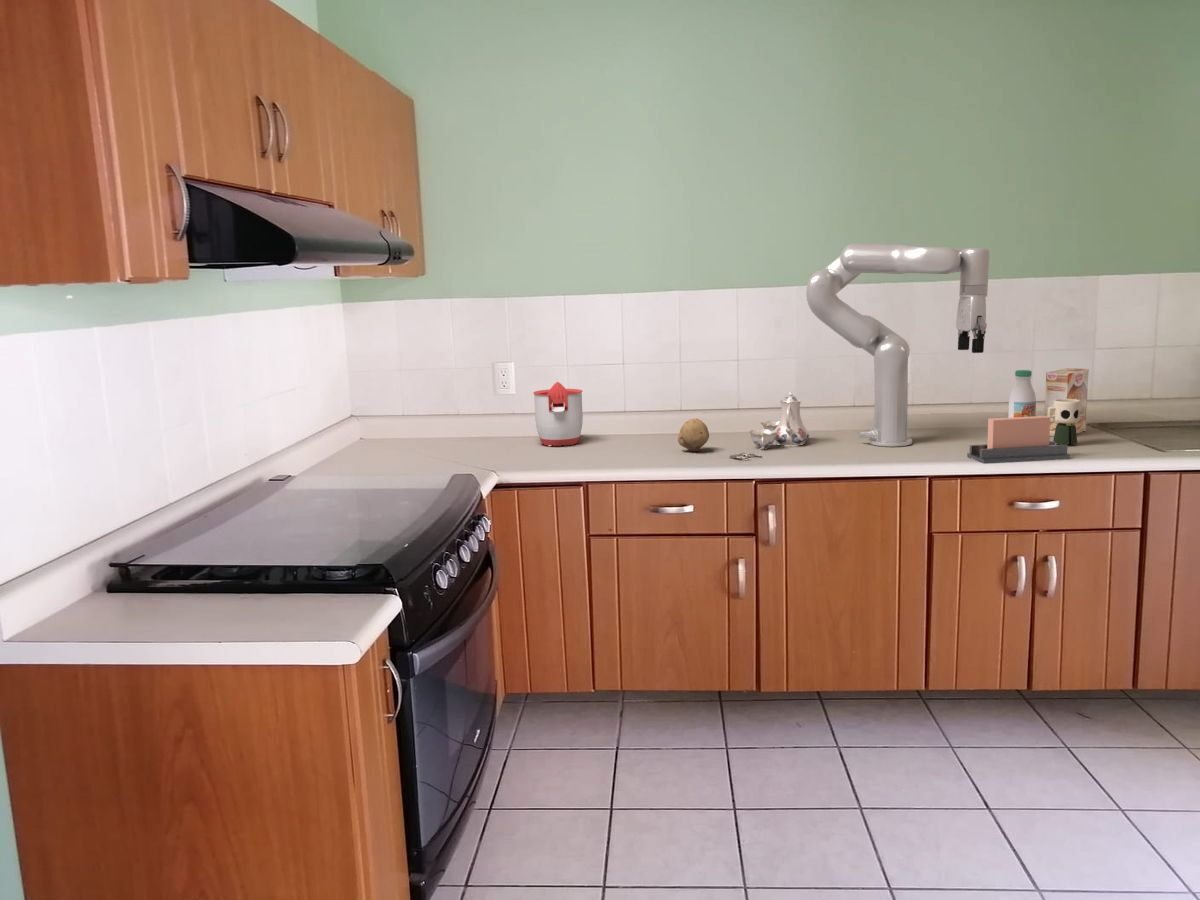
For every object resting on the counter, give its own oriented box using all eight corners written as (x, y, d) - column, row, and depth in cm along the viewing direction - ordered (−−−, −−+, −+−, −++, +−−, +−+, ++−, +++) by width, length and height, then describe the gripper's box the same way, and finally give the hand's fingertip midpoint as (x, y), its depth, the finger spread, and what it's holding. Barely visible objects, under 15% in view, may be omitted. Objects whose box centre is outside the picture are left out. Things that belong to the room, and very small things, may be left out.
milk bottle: (1003, 436, 314) (1005, 371, 311) (1013, 432, 320) (1016, 368, 316) (1028, 438, 309) (1031, 372, 306) (1038, 435, 314) (1041, 369, 311)
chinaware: (761, 441, 331) (755, 390, 328) (813, 436, 326) (807, 384, 323) (749, 457, 304) (742, 401, 302) (806, 452, 299) (800, 396, 297)
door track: (983, 463, 275) (984, 450, 274) (967, 456, 284) (967, 444, 284) (1069, 458, 277) (1070, 446, 276) (1050, 452, 286) (1050, 440, 286)
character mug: (1051, 447, 294) (1053, 402, 291) (1040, 443, 301) (1042, 399, 298) (1089, 446, 294) (1091, 401, 291) (1078, 442, 301) (1080, 397, 298)
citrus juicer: (534, 450, 319) (531, 386, 316) (536, 440, 336) (533, 380, 333) (585, 448, 320) (582, 384, 316) (584, 439, 337) (581, 378, 333)
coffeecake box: (1065, 438, 308) (1068, 373, 305) (1042, 435, 313) (1044, 372, 310) (1086, 431, 318) (1089, 368, 315) (1063, 429, 323) (1066, 367, 320)
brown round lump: (716, 452, 305) (715, 418, 303) (691, 455, 301) (690, 422, 299) (698, 448, 313) (697, 415, 311) (674, 451, 309) (673, 418, 307)
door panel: (992, 456, 278) (993, 420, 276) (987, 454, 281) (988, 418, 279) (1048, 453, 280) (1050, 417, 278) (1043, 451, 282) (1044, 415, 281)
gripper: (948, 290, 302) (945, 349, 305) (973, 292, 285) (970, 354, 288) (973, 290, 302) (970, 348, 305) (999, 292, 285) (996, 353, 289)
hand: (970, 351), depth 297 cm, fingers open, 9 cm apart
